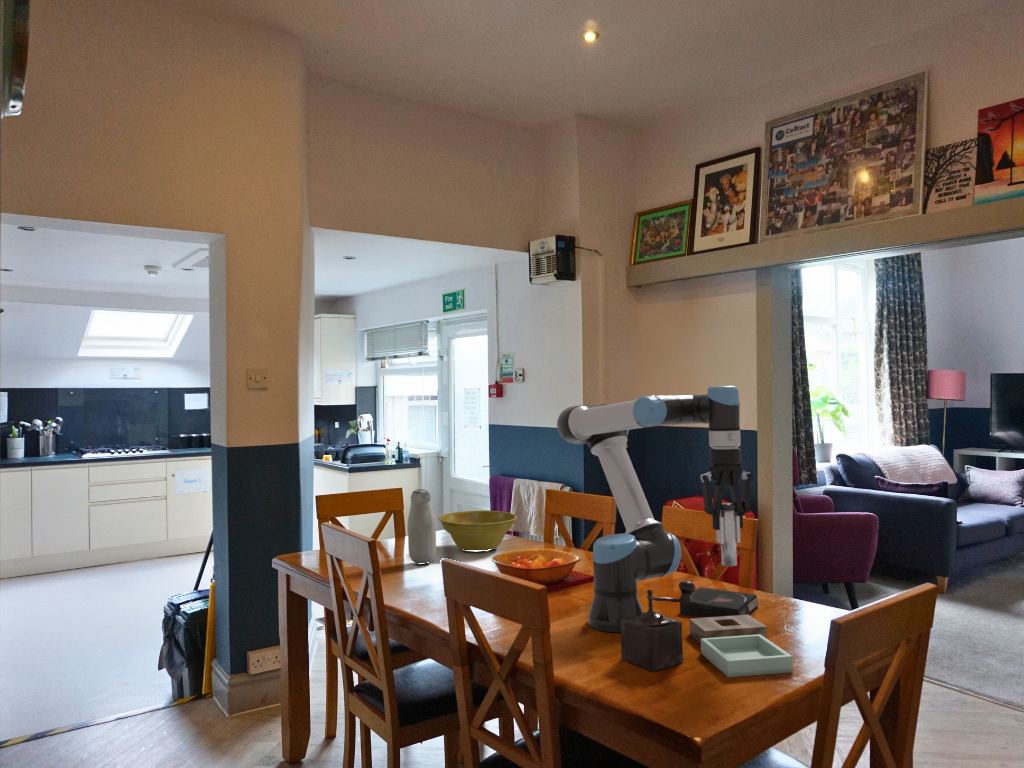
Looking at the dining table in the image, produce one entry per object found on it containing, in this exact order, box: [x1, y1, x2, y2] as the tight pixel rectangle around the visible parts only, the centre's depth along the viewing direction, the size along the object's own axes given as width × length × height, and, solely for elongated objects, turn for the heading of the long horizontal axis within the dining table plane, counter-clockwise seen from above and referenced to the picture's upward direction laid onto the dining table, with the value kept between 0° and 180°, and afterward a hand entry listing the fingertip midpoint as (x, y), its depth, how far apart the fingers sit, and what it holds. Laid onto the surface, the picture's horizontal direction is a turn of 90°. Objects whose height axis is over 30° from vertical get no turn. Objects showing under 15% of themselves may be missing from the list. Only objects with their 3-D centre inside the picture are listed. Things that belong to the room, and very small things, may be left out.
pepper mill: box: [620, 580, 697, 673], centre depth 170 cm, size 16×11×18 cm
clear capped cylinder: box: [720, 502, 738, 567], centre depth 181 cm, size 4×4×15 cm
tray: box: [700, 634, 794, 678], centre depth 167 cm, size 15×15×4 cm
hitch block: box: [688, 614, 768, 644], centre depth 183 cm, size 16×10×4 cm, turn 98°
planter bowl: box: [438, 510, 518, 550], centre depth 297 cm, size 32×32×13 cm
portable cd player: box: [679, 586, 759, 618], centre depth 207 cm, size 16×17×4 cm
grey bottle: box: [407, 488, 437, 564], centre depth 273 cm, size 10×10×28 cm
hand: (728, 541), depth 181 cm, fingers closed on clear capped cylinder, 3 cm apart
